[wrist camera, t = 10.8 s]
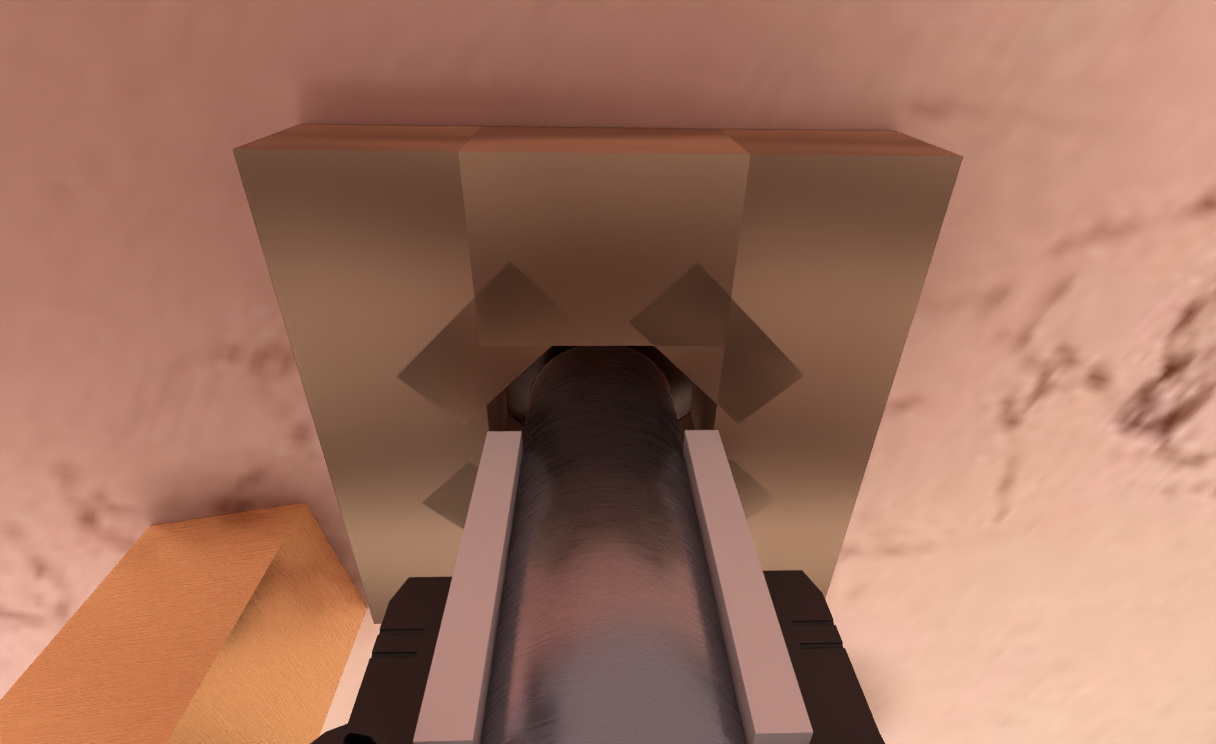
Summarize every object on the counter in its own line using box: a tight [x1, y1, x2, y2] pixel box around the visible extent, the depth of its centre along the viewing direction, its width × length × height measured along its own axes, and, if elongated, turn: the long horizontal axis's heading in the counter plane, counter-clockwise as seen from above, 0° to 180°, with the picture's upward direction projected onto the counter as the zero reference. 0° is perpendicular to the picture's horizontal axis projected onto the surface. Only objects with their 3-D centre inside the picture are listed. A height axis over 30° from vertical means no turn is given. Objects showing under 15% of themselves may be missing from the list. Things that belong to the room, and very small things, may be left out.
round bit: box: [480, 346, 746, 744], centre depth 10 cm, size 4×4×14 cm
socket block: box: [233, 124, 963, 624], centre depth 16 cm, size 14×14×3 cm
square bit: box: [0, 503, 367, 744], centre depth 17 cm, size 6×6×9 cm
